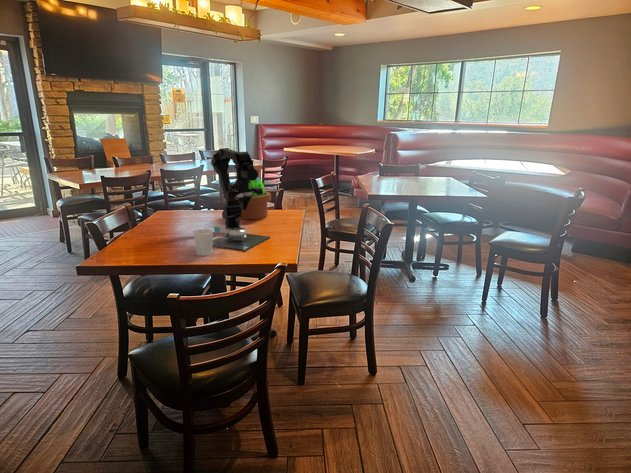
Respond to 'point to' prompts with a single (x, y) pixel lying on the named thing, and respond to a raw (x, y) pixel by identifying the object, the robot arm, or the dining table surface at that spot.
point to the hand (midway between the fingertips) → (244, 209)
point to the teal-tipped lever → (232, 232)
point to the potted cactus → (256, 203)
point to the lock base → (239, 242)
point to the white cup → (203, 241)
